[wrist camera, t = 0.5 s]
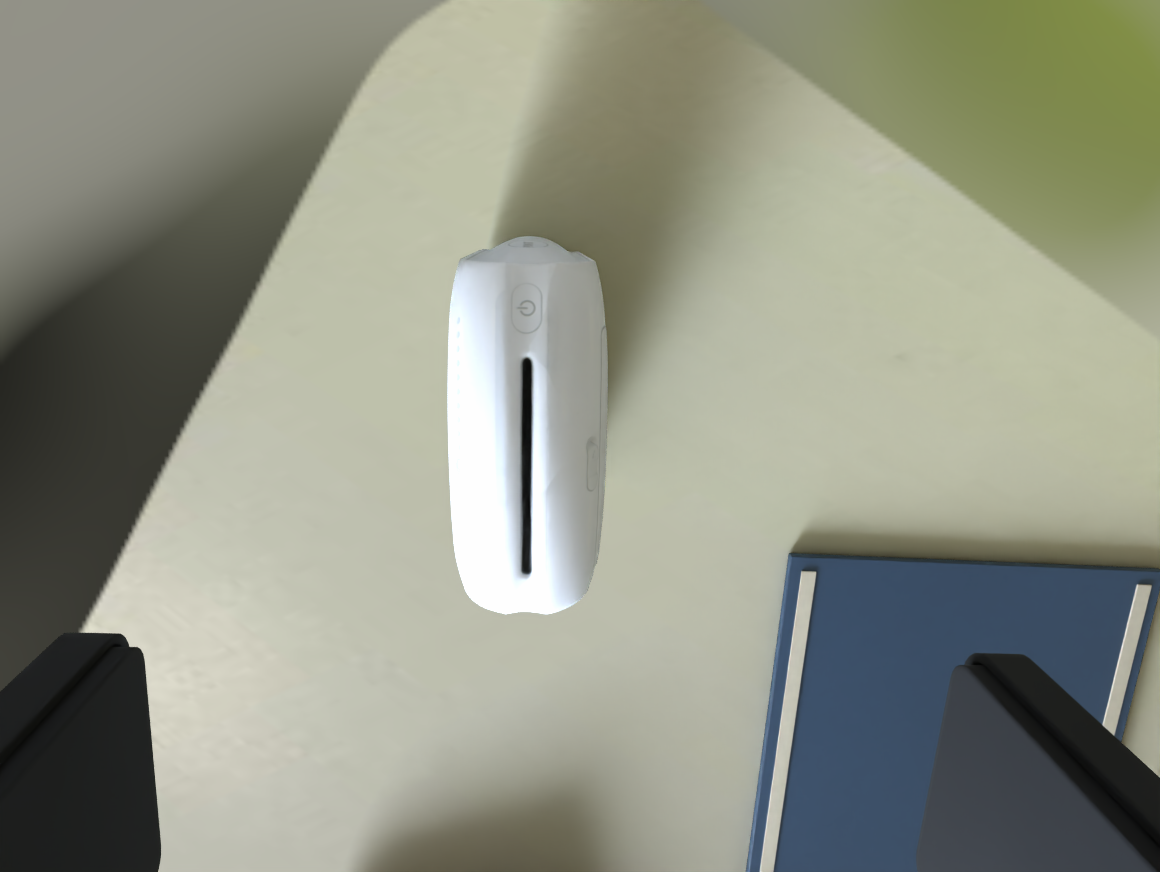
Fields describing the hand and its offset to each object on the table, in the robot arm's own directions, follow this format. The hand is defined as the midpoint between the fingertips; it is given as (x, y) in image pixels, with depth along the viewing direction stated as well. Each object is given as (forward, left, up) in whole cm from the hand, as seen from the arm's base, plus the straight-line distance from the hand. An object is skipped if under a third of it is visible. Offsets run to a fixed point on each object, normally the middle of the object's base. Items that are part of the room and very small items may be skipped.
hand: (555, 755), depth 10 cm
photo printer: (0, 0, -24) cm, 24 cm away
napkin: (+16, +19, -24) cm, 34 cm away
